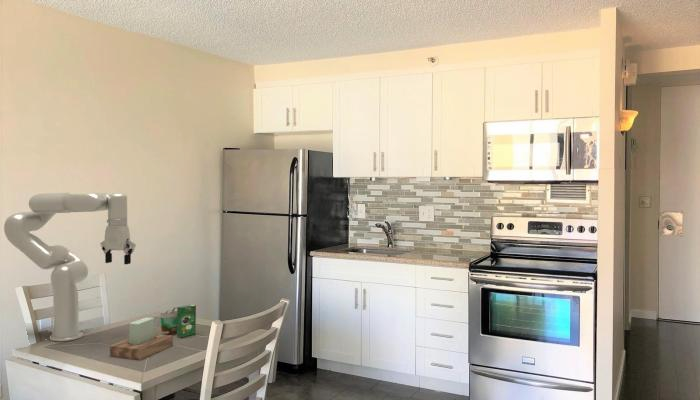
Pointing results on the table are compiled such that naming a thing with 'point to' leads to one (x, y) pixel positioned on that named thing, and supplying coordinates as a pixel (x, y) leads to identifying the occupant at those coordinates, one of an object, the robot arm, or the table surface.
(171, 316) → the food container
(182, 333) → the coffee box
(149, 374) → the table surface
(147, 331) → the pale green upright block
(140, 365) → the table surface
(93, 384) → the table surface
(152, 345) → the slotted block
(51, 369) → the table surface
